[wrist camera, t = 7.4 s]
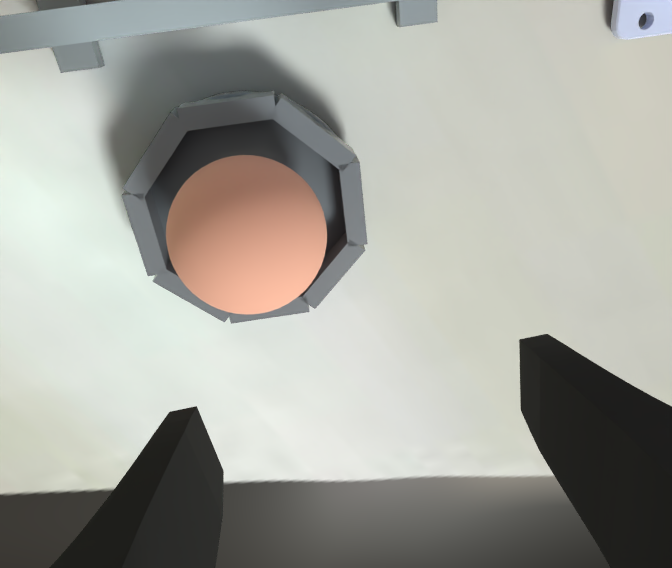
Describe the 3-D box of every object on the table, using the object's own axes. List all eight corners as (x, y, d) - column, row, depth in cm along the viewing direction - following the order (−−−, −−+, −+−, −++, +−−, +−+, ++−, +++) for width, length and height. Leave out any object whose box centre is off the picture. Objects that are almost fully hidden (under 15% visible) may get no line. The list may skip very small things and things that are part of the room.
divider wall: (430, -66, 16) (472, -85, 13) (432, 21, 17) (471, 25, 14) (39, -15, 16) (-30, -20, 12) (67, 70, 17) (12, 87, 13)
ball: (305, 127, 18) (324, 166, 13) (326, 258, 20) (348, 327, 16) (158, 152, 18) (128, 200, 13) (196, 282, 20) (182, 359, 16)
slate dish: (347, 75, 18) (353, 82, 16) (367, 281, 22) (374, 303, 20) (111, 107, 18) (94, 118, 16) (174, 310, 21) (165, 334, 20)
